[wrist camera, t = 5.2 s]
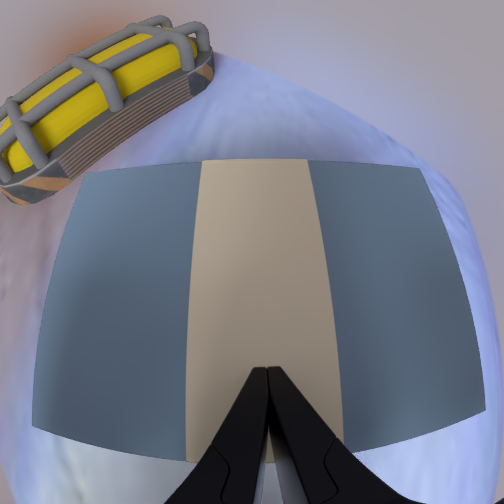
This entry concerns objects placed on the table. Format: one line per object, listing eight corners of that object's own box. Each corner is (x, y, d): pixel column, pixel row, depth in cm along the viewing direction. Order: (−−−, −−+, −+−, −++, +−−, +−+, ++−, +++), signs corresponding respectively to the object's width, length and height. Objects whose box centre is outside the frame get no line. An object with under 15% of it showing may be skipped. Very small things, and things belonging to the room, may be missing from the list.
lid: (471, 412, 8) (487, 410, 8) (46, 426, 8) (30, 425, 7) (412, 180, 15) (420, 167, 14) (92, 185, 14) (85, 172, 14)
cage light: (-31, 127, 19) (164, 6, 28) (-1, 167, 26) (171, 50, 36) (-29, 184, 14) (237, 19, 24) (19, 232, 22) (239, 75, 31)
